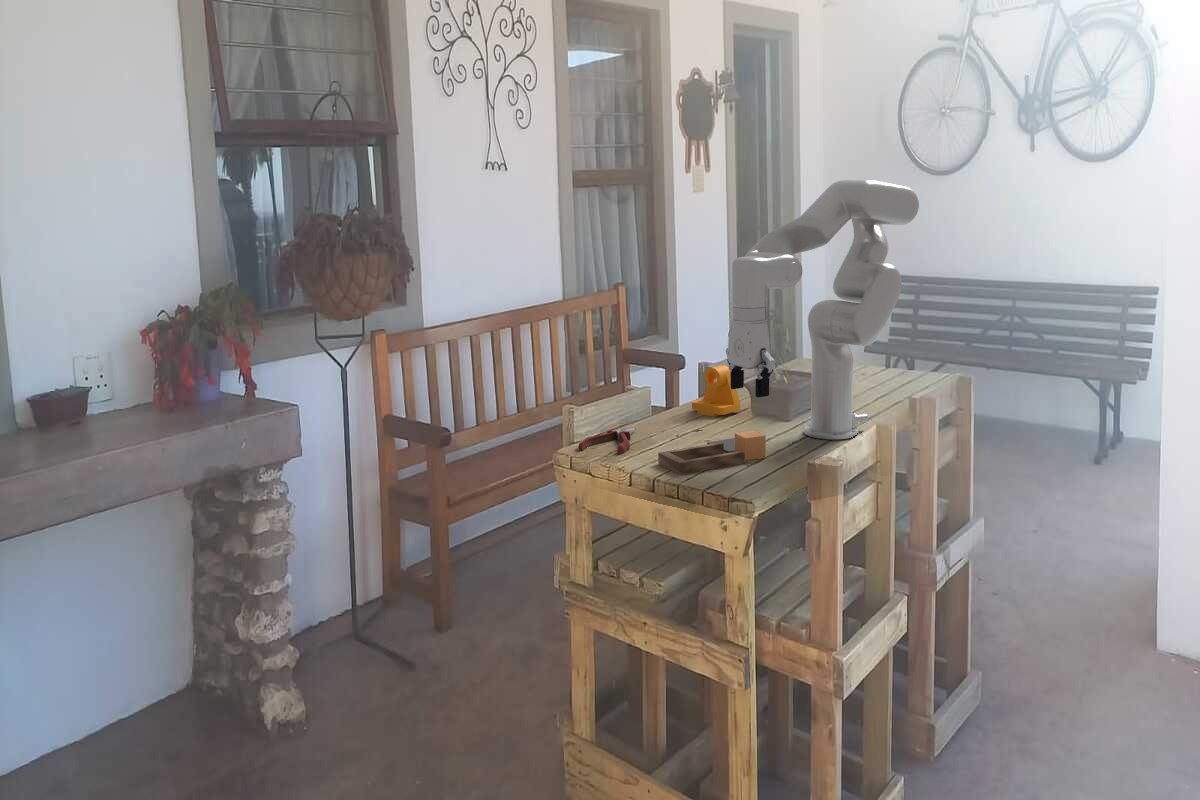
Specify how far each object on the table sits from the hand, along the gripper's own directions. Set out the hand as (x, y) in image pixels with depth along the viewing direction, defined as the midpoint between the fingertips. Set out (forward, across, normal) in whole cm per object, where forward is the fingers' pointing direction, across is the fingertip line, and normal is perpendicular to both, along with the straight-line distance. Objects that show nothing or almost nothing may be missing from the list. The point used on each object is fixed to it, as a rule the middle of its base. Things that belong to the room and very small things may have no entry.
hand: (749, 392), depth 227 cm
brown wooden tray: (+14, 0, -12) cm, 19 cm away
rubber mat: (+14, -8, 0) cm, 16 cm away
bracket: (+15, -38, +15) cm, 43 cm away
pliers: (+15, -24, -20) cm, 35 cm away
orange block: (+14, 0, 0) cm, 14 cm away
